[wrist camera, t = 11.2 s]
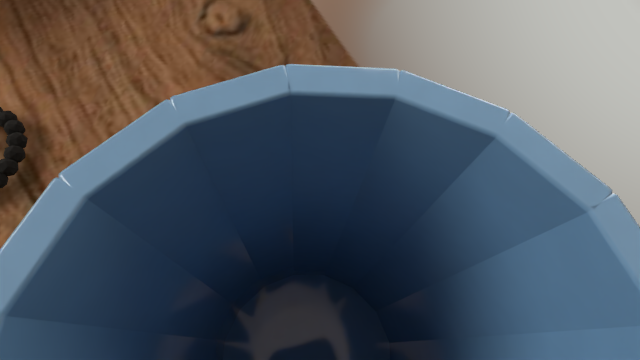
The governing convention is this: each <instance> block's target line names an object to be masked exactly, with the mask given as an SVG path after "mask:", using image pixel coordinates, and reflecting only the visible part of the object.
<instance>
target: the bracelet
mask: <svg viewBox="0 0 640 360" xmlns="http://www.w3.org/2000/svg"><path fill="white" fill-rule="evenodd" d="M17 120H18V119H17V116H16V115H15V114H13V113H12V112H11V111H3V110H2V108H1V107H0V126H2V127H3V128H4V130H5V132H6V133H7V135H8V136H7V139H6V143H7V144H8V145H9V147H7V148H5V152H4V157H5V158H4V159H1V160H0V188H3V187H4V186H5V185H7V182H8V177H7V176H11V175H14V174H15V173H16V172H17V171H18V162H21V161H22V160H23V159H24V158H25V152H24V149H23V148H25V147H26V144H27V139H28V138H27V137H26V136H24V135H23V133H24V132H25V128H24V126H23V124H22V123H21V122H20V121H17Z"/></svg>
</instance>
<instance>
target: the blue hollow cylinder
mask: <svg viewBox="0 0 640 360" xmlns="http://www.w3.org/2000/svg"><path fill="white" fill-rule="evenodd" d="M0 360H640V227H639V225H638V224H637V222H636V221H635V219H634V218H633V217H632V215H631V214H630V212H629V211H628V209H627V208H626V207H625V205H624V204H623V202H622V201H621V200H620V198H619V197H618V195H616V194H612V189H611V188H610V187H608V186H607V185H606V184H605V183H603V182H602V181H601V180H599V179H598V178H597V177H596V176H594V175H593V174H592V173H590V172H589V171H588V170H587V169H585V168H584V167H583V166H581V165H580V164H579V163H578V162H576V161H575V160H574V159H573V158H571V157H570V156H569V155H567V154H566V153H565V152H563V151H562V150H561V149H560V148H558V147H557V146H556V145H555V144H553V143H552V142H551V141H550V140H548V139H547V138H546V137H544V136H543V135H542V134H541V133H539V132H538V131H537V130H536V129H534V128H533V127H532V126H530V125H529V124H528V123H527V122H525V121H524V120H523V119H522V118H520V117H519V116H518V115H516V114H515V113H510V111H509V110H508V109H506V108H503V107H500V106H498V105H495V104H492V103H490V102H487V101H484V100H482V99H479V98H476V97H474V96H471V95H468V94H466V93H463V92H461V91H458V90H455V89H452V88H450V87H447V86H444V85H442V84H439V83H436V82H434V81H431V80H429V79H426V78H423V77H421V76H418V75H415V74H413V73H410V72H407V71H404V70H402V71H399V70H398V69H390V68H369V67H368V68H367V67H346V66H323V65H299V64H287V65H286V66H284V65H279V66H276V67H272V68H269V69H265V70H262V71H258V72H255V73H251V74H248V75H244V76H241V77H237V78H234V79H231V80H227V81H224V82H220V83H217V84H213V85H210V86H206V87H203V88H199V89H196V90H192V91H189V92H186V93H182V94H179V95H175V96H172V97H171V98H170V100H168V99H167V100H164V101H163V102H161V103H160V104H158V105H157V106H155V107H154V108H152V109H151V110H150V111H148V112H147V113H145V114H144V115H142V116H141V117H139V118H138V119H137V120H135V121H134V122H132V123H131V124H129V125H128V126H126V127H125V128H124V129H122V130H121V131H119V132H118V133H116V134H115V135H113V136H112V137H111V138H109V139H108V140H106V141H105V142H103V143H102V144H100V145H99V146H98V147H96V148H95V149H93V150H92V151H90V152H89V153H87V154H86V155H85V156H83V157H82V158H80V159H79V160H77V161H76V162H74V163H73V164H72V165H70V166H69V167H67V168H66V169H64V170H63V171H61V172H60V173H59V178H54V179H53V180H52V181H51V182H50V184H49V185H48V186H47V188H46V189H45V190H44V192H43V193H42V194H41V196H40V197H39V198H38V200H37V201H36V202H35V204H34V205H33V206H32V208H31V209H30V210H29V212H28V213H27V214H26V216H25V217H24V218H23V220H22V221H21V222H20V224H19V225H18V226H17V228H16V229H15V230H14V232H13V233H12V234H11V236H10V237H9V238H8V240H7V241H6V242H5V244H4V245H3V246H2V248H1V249H0Z"/></svg>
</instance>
